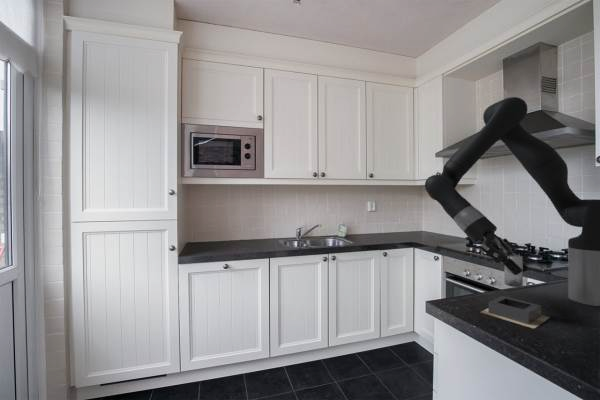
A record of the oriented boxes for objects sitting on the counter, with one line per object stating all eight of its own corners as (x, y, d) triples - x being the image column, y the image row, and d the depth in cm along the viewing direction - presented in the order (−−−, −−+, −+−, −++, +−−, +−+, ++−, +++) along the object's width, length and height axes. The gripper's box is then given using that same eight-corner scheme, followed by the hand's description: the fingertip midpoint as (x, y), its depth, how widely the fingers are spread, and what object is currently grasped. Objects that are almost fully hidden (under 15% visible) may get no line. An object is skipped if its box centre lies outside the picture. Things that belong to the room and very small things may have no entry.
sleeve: (502, 305, 81) (502, 295, 81) (540, 316, 74) (540, 305, 74) (488, 312, 76) (488, 301, 76) (528, 324, 69) (528, 312, 69)
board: (498, 306, 83) (498, 303, 83) (550, 321, 73) (550, 317, 73) (480, 315, 77) (480, 312, 77) (534, 332, 67) (534, 328, 67)
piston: (507, 281, 78) (507, 254, 78) (525, 285, 74) (525, 256, 74) (501, 284, 76) (501, 255, 76) (519, 288, 72) (519, 258, 72)
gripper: (472, 216, 77) (524, 267, 67) (494, 215, 85) (544, 261, 75) (453, 233, 82) (500, 283, 72) (475, 230, 90) (520, 275, 79)
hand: (522, 271), depth 73 cm, fingers closed on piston, 4 cm apart
